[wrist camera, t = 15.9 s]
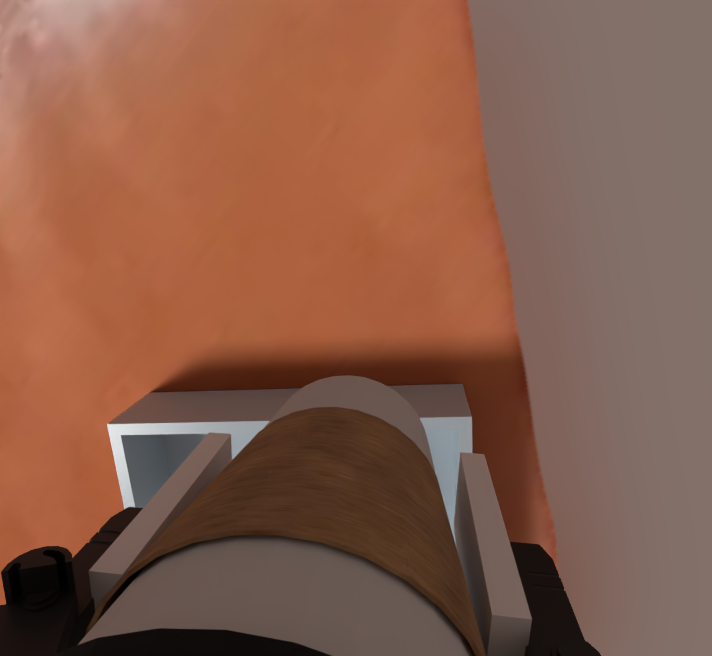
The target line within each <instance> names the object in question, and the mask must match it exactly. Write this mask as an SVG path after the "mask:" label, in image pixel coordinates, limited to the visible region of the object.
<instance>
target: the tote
mask: <svg viewBox="0 0 712 656" xmlns="http://www.w3.org/2000/svg"><path fill="white" fill-rule="evenodd" d="M388 387H389V388H391V389H393V390H395V391H396V392H397V393H398V394H400V395H401V396H402V397H403V398H404V399H405V400H407V401H408V403H409V404H410V405H411V406H412V408H413V409H414V410H415V411H416V413H417V414H418V416H419V418H420V420H421V422H422V424H423V426H424V429H425V432H426V436H427V440H428V443H429V447H430V452H431V456H432V460H433V465H434V469H435V474H436V476H437V479H438V483H439V486H440V490H441V494H442V497H443V501H444V504H445V508H446V512H447V515H448V519H449V523H450V526H451V530H452V534H453V537H454V541H455V534H454V526H453V525H454V515H455V504H456V493H457V482H458V472H459V461H460V452H464V453H472V415H471V412H470V408H469V405H468V401H467V398H466V394H465V391H464V387H463V384H433V385H398V386H388ZM300 389H302V388H292V389H257V390H222V391H186V392H151V393H148V394H147V395H146V396H144V397H143V398H142V399H140V400H139V401H138V402H136V403H135V404H134V405H132V406H131V407H130V408H128V409H127V410H126V411H124V412H123V413H122V414H120V415H119V416H117V417H116V418H115V419H113V420H112V421H111V422H109V423H108V424H107V426H108V431H109V436H110V441H111V446H112V450H113V455H114V460H115V465H116V470H117V475H118V479H119V484H120V489H121V494H122V499H123V504H124V508H125V509H126V508H128V507H137V508H144V507H145V506H146V504H147V503H148V502H149V501H150V500H151V499H152V498H153V496H154V495H155V494H156V493H157V492H158V491H159V489H160V488H161V487H162V486H163V485H164V484H165V483H166V481H167V480H168V479H169V478H170V477H171V476H172V475H173V473H174V472H175V471H176V470H177V469H178V468H179V467H180V465H181V464H182V463H183V462H184V461H185V460H186V459H187V457H188V456H189V455H190V454H191V453H192V452H193V450H194V449H195V448H196V447H197V446H198V445H199V444H200V442H201V441H202V440H203V439H204V438H205V437H206V436H207V434H208V433H209V432H212V433H225V434H231V446H232V460H233V459H234V458H235V457H236V455H237V454H238V453H239V452H240V451H241V450H242V449H243V448H244V447H245V446H246V445H247V444H248V443H249V442H250V441H251V440H252V439H253V438H254V436H255V435H256V434H257V433H258V432H259V431H261V430H262V429H263V428H264V427H265V426H266V425H267V424H268V422H269V421H270V420H271V419H272V418H273V417H274V415H275V414H276V413H277V412H278V411H279V410H280V409H281V408H282V406H283V405H284V404H285V403H286V402H287V401H288V400H289V398H290V397H291V396H292V395H293V394H295V393H296V392H297V391H299V390H300ZM455 544H456V541H455Z"/></svg>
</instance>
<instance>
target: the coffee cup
mask: <svg viewBox="0 0 712 656" xmlns="http://www.w3.org/2000/svg"><path fill="white" fill-rule="evenodd" d="M50 656H486V654H485V650H484V646H483V643H482V639H481V635H480V632H479V628H478V624H477V621H476V617H475V614H474V610H473V606H472V603H471V599H470V595H469V592H468V588H467V584H466V581H465V577H464V574H463V570H462V566H461V563H460V559H459V555H458V552H457V548H456V544H455V541H454V537H453V534H452V530H451V526H450V523H449V519H448V515H447V512H446V508H445V504H444V501H443V497H442V494H441V490H440V486H439V483H438V479H437V476H436V474H435V469H434V465H433V460H432V456H431V452H430V447H429V443H428V440H427V436H426V432H425V429H424V426H423V424H422V422H421V420H420V418H419V416H418V414H417V413H416V411H415V410H414V409H413V408H412V406H411V405H410V404H409V403H408V401H407V400H405V399H404V398H403V397H402V396H401V395H400V394H398V393H397V392H396V391H395V390H393V389H391V388H389V387H388V386H386V385H384V384H382V383H380V382H377V381H374V380H372V379H369V378H365V377H359V376H352V375H345V376H332V377H328V378H323V379H319V380H317V381H315V382H312V383H310V384H308V385H306V386H304V387H303V388H302V389H300V390H299V391H297V392H296V393H295V394H293V395H292V396H291V397H290V398H289V400H288V401H287V402H286V403H285V404H284V405H283V406H282V408H281V409H280V410H279V411H278V412H277V413H276V414H275V415H274V417H273V418H272V419H271V420H270V421H269V422H268V424H267V425H266V426H265V427H264V428H263V429H262V430H261V431H259V432H258V433H257V434H256V435H255V436H254V438H253V439H252V440H251V441H250V442H249V443H248V444H247V445H246V446H245V447H244V448H243V449H242V450H241V451H240V452H239V453H238V454H237V455H236V457H235V458H234V459H233V460H232V461H231V462H230V463H229V464H228V465H227V466H226V467H225V468H224V469H223V470H222V471H221V472H220V473H219V474H218V475H217V477H216V478H215V479H214V480H213V481H212V482H211V483H210V484H209V485H208V486H207V487H206V488H205V489H204V490H203V491H202V492H201V493H200V494H199V496H198V497H197V498H196V499H195V500H194V501H193V502H192V503H191V504H190V505H189V506H188V507H187V508H186V509H185V510H184V511H183V512H182V513H181V514H180V516H179V517H178V518H177V519H176V520H175V521H174V522H173V523H172V524H171V525H170V526H169V527H168V528H167V529H166V530H165V531H164V532H163V533H162V535H161V536H160V537H159V538H158V539H157V540H156V541H155V542H154V543H153V544H152V545H151V546H150V547H149V548H148V549H147V550H146V551H145V552H144V553H143V555H142V556H141V557H140V558H139V559H138V560H137V561H136V562H135V563H134V564H133V565H132V566H131V567H130V568H129V569H128V570H127V571H126V572H125V574H124V575H123V576H122V577H121V578H120V579H119V580H118V581H117V583H116V584H115V585H114V586H113V587H112V588H111V589H110V591H109V592H108V593H107V594H106V595H105V596H104V597H103V599H102V600H101V602H100V604H99V606H98V608H97V610H96V612H95V614H94V616H93V618H92V620H91V622H90V624H89V625H88V627H87V631H86V635H85V637H84V638H83V639H82V640H81V641H80V643H79V644H78V645H77V646H74V647H71V648H68V649H66V650H63V651H60V652H58V653H55V654H52V655H50Z"/></svg>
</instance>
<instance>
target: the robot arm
mask: <svg viewBox="0 0 712 656" xmlns="http://www.w3.org/2000/svg"><path fill="white" fill-rule="evenodd" d="M231 461H232V446H231V434H225V433H212V432H209V433H208V434H207V436H206V437H205V438H204V439H203V440H202V441H201V442H200V444H199V445H198V446H197V447H196V448H195V449H194V450H193V452H192V453H191V454H190V455H189V456H188V457H187V459H186V460H185V461H184V462H183V463H182V464H181V465H180V467H179V468H178V469H177V470H176V471H175V472H174V473H173V475H172V476H171V477H170V478H169V479H168V480H167V481H166V483H165V484H164V485H163V486H162V487H161V488H160V489H159V491H158V492H157V493H156V494H155V495H154V496H153V498H152V499H151V500H150V501H149V502H148V503H147V504H146V506H145V507H144V508H137V507H128V508H126V509H124V510H123V511H121V512H119V513H118V514H116V515H114V516H113V517H111V518H110V519H109V520H108V521H107V522H106V524H105V525H104V526H103V527H102V528H101V529H100V530H99V533H98V532H97V533H96V534H95V535H94V536H93V537H92V538H91V539H90V541H89V543H87V544H86V545H85V546H84V547H83V548H82V549H81V550H80V551H79V552H78V553H77V554H76V555H75V556H74V557H73V558H72V554H71V553H70V552H69V550H68V549H66V548H63V547H59V546H46V547H42V548H38V549H34V550H31V551H29V552H26V553H24V554H22V555H20V556H18V557H17V558H15V559H14V560H12V561H11V562H10V563H8V564H7V566H6V567H5V568H4V569H3V570H2V572H1V575H2V581H3V587H4V592H5V598H6V604H5V605H0V656H50V655H52V654H55V653H58V652H60V651H63V650H66V649H68V648H71V647H74V646H77V645H78V644H79V643H80V641H81V640H82V639H83V638H84V637H85V635H86V631H87V627H88V625H89V624H90V622H91V620H92V618H93V616H94V614H95V612H96V610H97V608H98V606H99V604H100V602H101V600H102V599H103V597H104V596H105V595H106V594H107V593H108V592H109V591H110V589H111V588H112V587H113V586H114V585H115V584H116V583H117V581H118V580H119V579H120V578H121V577H122V576H123V575H124V574H125V572H126V571H127V570H128V569H129V568H130V567H131V566H132V565H133V564H134V563H135V562H136V561H137V560H138V559H139V558H140V557H141V556H142V555H143V553H144V552H145V551H146V550H147V549H148V548H149V547H150V546H151V545H152V544H153V543H154V542H155V541H156V540H157V539H158V538H159V537H160V536H161V535H162V533H163V532H164V531H165V530H166V529H167V528H168V527H169V526H170V525H171V524H172V523H173V522H174V521H175V520H176V519H177V518H178V517H179V516H180V514H181V513H182V512H183V511H184V510H185V509H186V508H187V507H188V506H189V505H190V504H191V503H192V502H193V501H194V500H195V499H196V498H197V497H198V496H199V494H200V493H201V492H202V491H203V490H204V489H205V488H206V487H207V486H208V485H209V484H210V483H211V482H212V481H213V480H214V479H215V478H216V477H217V475H218V474H219V473H220V472H221V471H222V470H223V469H224V468H225V467H226V466H227V465H228V464H229V463H230V462H231ZM453 526H454V534H455V541H456V548H457V552H458V555H459V559H460V563H461V566H462V570H463V574H464V577H465V581H466V584H467V588H468V592H469V595H470V599H471V603H472V606H473V610H474V614H475V617H476V621H477V624H478V628H479V632H480V635H481V639H482V643H483V646H484V650H485V654H486V656H601V655H600V653H599V652H598V651H597V650H596V649H595V648H594V647H592V646H591V645H590V644H589V643H588V642H586V641H585V640H584V637H583V635H582V632H581V630H580V627H579V625H578V622H577V620H576V617H575V614H574V612H573V609H572V607H571V604H570V602H569V599H568V597H567V594H566V592H565V591H564V587H563V584H562V582H561V579H560V578H559V574H558V571H557V569H556V566H555V564H554V561H553V559H552V558H551V557H550V556H549V555H548V554H547V553H546V551H545V550H544V549H543V548H542V547H541V546H540V545H538V544H528V543H518V542H510V541H509V538H508V535H507V531H506V528H505V524H504V521H503V517H502V514H501V510H500V507H499V503H498V500H497V497H496V493H495V490H494V486H493V483H492V479H491V476H490V472H489V469H488V465H487V462H486V459H485V455H484V454H476V453H464V452H460V461H459V472H458V482H457V493H456V504H455V515H454V525H453Z"/></svg>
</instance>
